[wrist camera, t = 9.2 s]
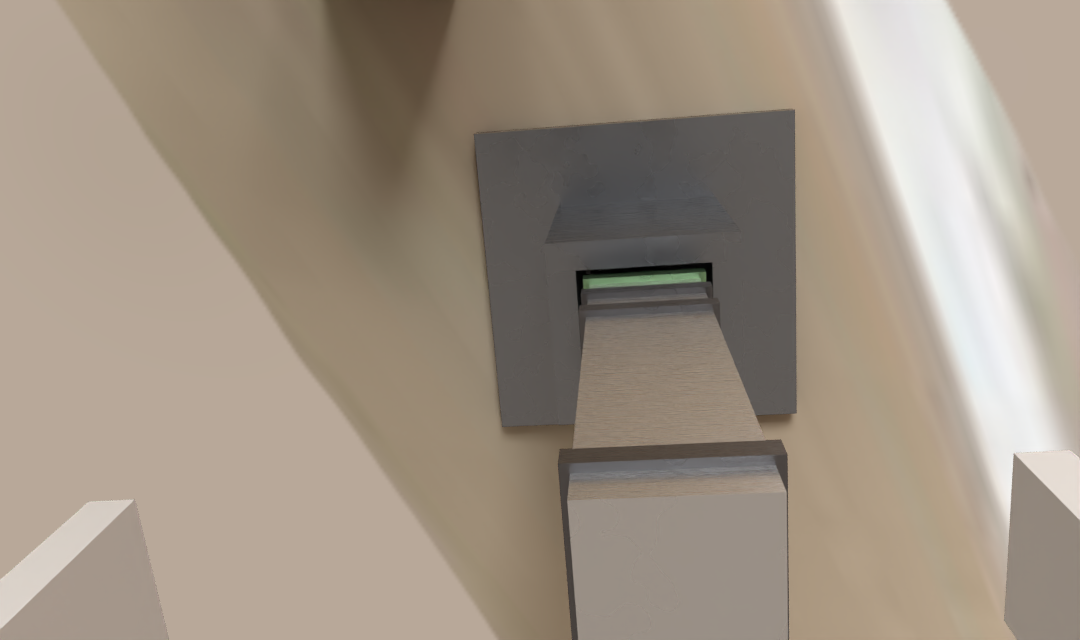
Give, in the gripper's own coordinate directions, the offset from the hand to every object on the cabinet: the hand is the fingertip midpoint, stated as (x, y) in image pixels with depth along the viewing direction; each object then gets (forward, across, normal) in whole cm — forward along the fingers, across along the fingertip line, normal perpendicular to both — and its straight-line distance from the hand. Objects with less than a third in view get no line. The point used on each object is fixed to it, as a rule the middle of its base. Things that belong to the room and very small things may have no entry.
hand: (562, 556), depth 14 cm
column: (+27, +2, -4) cm, 27 cm away
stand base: (+36, +2, -5) cm, 36 cm away
